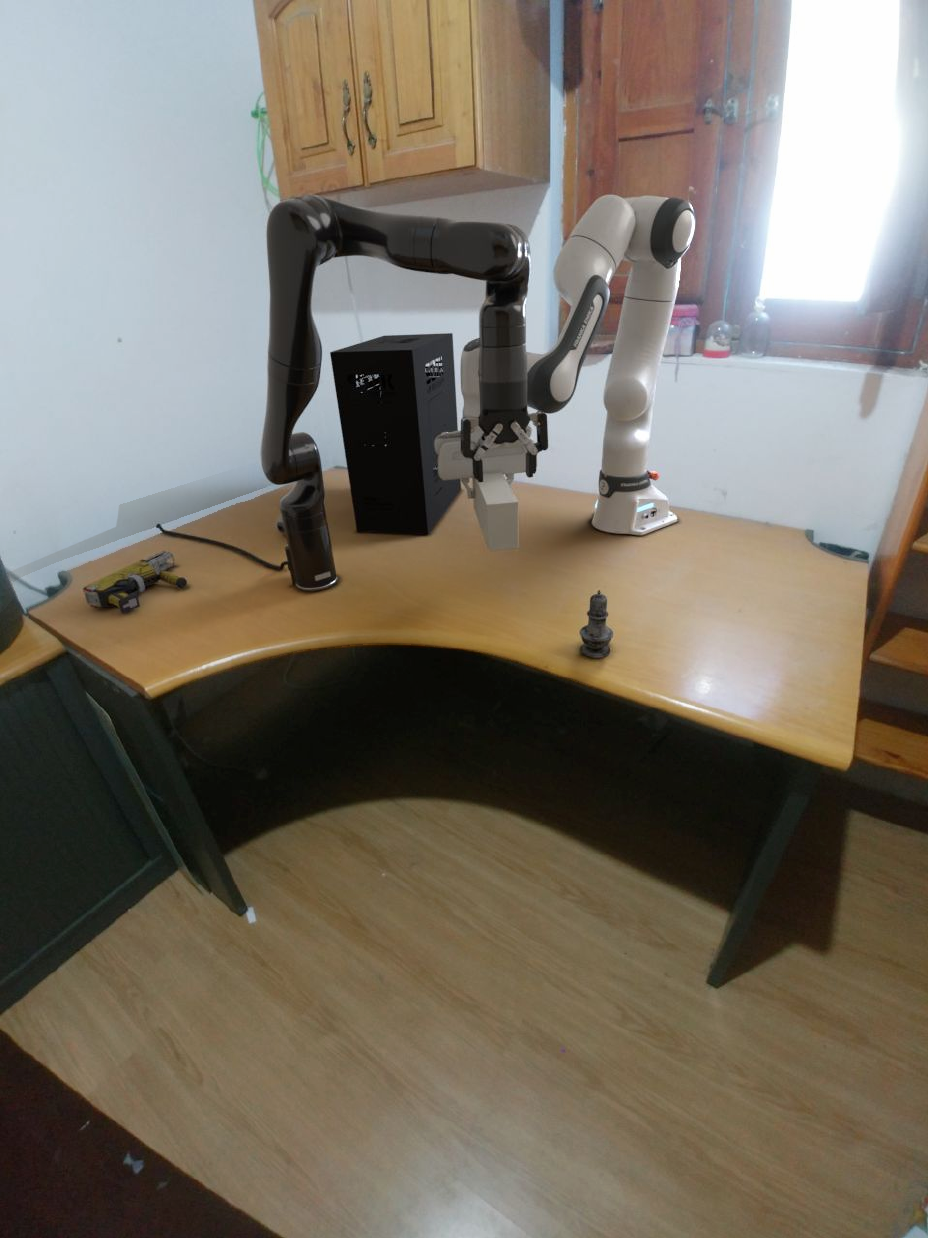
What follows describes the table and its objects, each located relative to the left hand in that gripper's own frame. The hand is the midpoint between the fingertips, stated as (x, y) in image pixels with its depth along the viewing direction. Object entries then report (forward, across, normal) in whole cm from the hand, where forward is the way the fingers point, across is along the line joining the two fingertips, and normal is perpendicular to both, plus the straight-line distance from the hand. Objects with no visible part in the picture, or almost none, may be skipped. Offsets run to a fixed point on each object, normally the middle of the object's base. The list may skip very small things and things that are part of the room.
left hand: (504, 478), depth 102 cm
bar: (+14, +1, +13) cm, 19 cm away
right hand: (+10, +1, +22) cm, 24 cm away
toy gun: (+29, -75, +37) cm, 89 cm away
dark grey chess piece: (+29, +13, -12) cm, 34 cm away
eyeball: (+29, -46, +63) cm, 84 cm away
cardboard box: (+29, -11, +73) cm, 79 cm away
